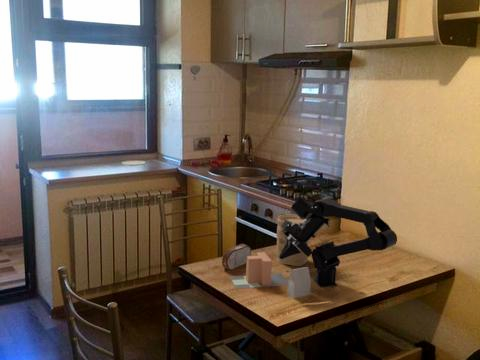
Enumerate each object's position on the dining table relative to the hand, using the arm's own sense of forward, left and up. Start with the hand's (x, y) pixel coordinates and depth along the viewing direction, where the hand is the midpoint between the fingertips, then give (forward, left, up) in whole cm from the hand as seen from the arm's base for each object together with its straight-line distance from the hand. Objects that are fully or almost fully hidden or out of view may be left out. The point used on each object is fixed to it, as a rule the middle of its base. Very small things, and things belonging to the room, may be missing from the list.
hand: (279, 258), depth 186 cm
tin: (+12, -16, -9) cm, 22 cm away
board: (+7, 0, -9) cm, 11 cm away
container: (-11, -18, -9) cm, 23 cm away
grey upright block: (-3, +14, -9) cm, 17 cm away
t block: (+8, 0, -8) cm, 12 cm away
